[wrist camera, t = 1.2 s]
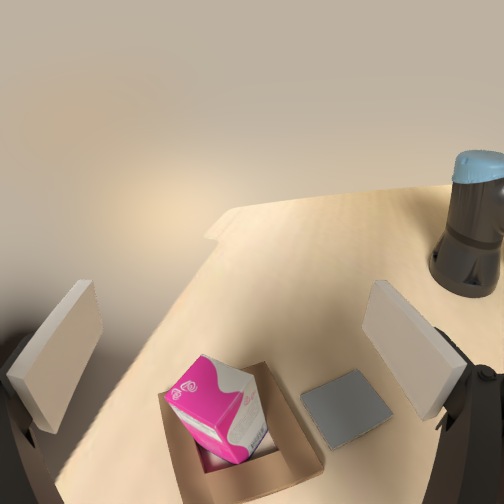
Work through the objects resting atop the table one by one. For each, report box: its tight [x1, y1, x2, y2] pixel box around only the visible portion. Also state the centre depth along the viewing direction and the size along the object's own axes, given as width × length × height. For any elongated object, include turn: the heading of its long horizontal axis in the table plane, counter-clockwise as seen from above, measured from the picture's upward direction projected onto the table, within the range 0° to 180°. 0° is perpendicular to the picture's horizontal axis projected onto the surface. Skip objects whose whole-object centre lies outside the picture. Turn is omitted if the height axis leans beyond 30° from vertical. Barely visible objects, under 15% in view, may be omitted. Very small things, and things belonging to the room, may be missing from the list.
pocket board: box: [158, 361, 324, 504], centre depth 28 cm, size 14×16×2 cm
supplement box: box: [164, 354, 268, 465], centre depth 25 cm, size 6×6×11 cm
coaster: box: [300, 369, 393, 451], centre depth 29 cm, size 8×8×1 cm
